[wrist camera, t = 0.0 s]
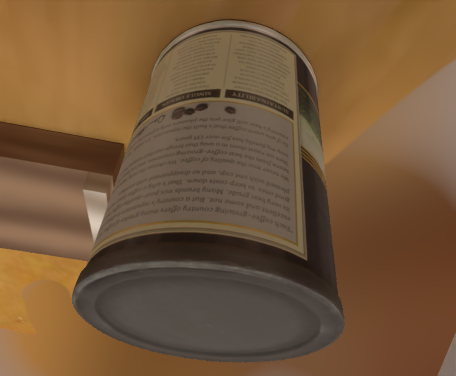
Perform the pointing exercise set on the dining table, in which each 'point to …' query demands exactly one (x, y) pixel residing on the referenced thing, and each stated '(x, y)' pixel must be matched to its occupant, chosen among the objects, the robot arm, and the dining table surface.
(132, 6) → the dining table surface
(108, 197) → the plinth
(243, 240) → the coffee can
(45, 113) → the dining table surface
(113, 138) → the dining table surface
